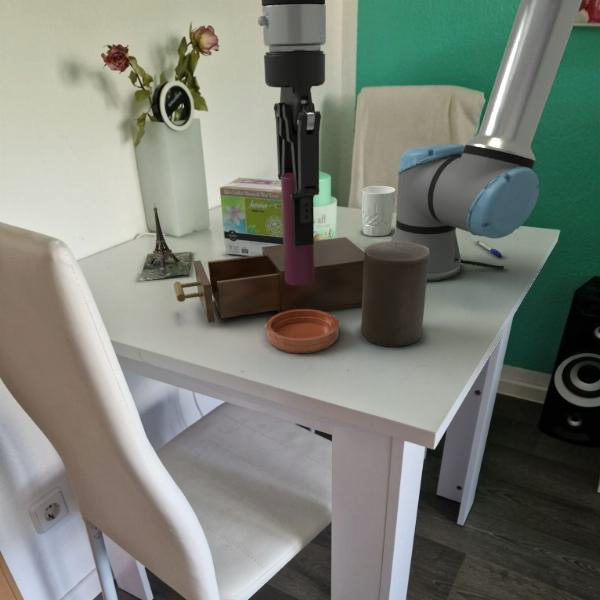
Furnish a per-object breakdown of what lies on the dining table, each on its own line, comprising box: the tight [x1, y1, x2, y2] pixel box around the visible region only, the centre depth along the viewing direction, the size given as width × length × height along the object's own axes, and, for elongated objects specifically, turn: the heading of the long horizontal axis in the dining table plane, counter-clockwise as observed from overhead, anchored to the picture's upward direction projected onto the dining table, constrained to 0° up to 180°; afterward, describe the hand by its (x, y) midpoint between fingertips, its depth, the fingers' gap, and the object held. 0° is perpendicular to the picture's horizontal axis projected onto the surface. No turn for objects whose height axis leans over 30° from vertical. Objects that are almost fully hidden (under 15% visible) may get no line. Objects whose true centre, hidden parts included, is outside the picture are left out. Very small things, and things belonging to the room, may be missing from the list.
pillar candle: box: [360, 240, 429, 348], centre depth 86 cm, size 10×10×15 cm
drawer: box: [173, 254, 281, 324], centre depth 97 cm, size 20×12×7 cm, turn 106°
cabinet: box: [262, 236, 364, 314], centre depth 101 cm, size 16×13×8 cm
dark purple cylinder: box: [281, 172, 315, 285], centre depth 80 cm, size 4×4×15 cm
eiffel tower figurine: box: [139, 202, 192, 282], centre depth 116 cm, size 15×10×13 cm
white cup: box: [361, 185, 397, 237], centre depth 133 cm, size 8×8×10 cm
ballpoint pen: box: [476, 240, 503, 258], centre depth 122 cm, size 10×1×1 cm, turn 13°
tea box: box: [219, 177, 284, 257], centre depth 122 cm, size 15×10×15 cm, turn 70°
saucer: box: [265, 309, 340, 354], centre depth 89 cm, size 11×11×2 cm
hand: (298, 238), depth 81 cm, fingers closed on dark purple cylinder, 4 cm apart
